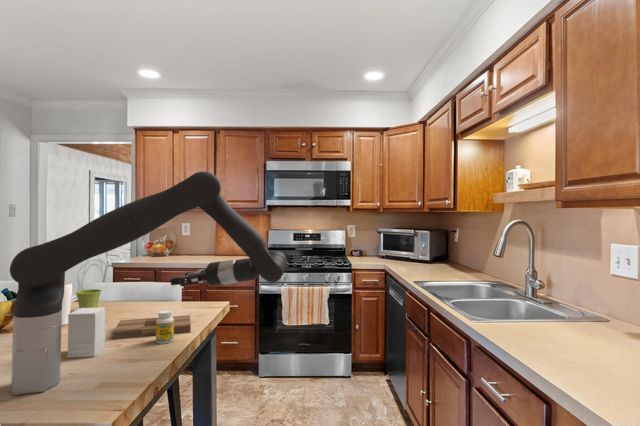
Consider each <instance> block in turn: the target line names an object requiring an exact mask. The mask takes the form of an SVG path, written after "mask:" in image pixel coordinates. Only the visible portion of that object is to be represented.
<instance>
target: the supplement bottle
mask: <svg viewBox="0 0 640 426" xmlns="http://www.w3.org/2000/svg"><path fill="white" fill-rule="evenodd" d="M172 312H173V311H172V310H160V311H158V312H157V313H158V314H157V315H158V316H157V318H158V319H157V320H156V336H155V342H156V344H162V345H163V344H164V345H165V344H170V343H172V342H174V340H175V337H174V335H175V334H174V319H173V318H172V317H173V314H172Z"/></svg>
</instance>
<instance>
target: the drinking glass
mask: <svg viewBox="0 0 640 426" xmlns="http://www.w3.org/2000/svg"><path fill="white" fill-rule="evenodd" d="M72 299H73V283H72V282H65V284H64V297H63V301H62V324H61V327H64V326H68V314H70V313H71V308H72Z"/></svg>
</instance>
